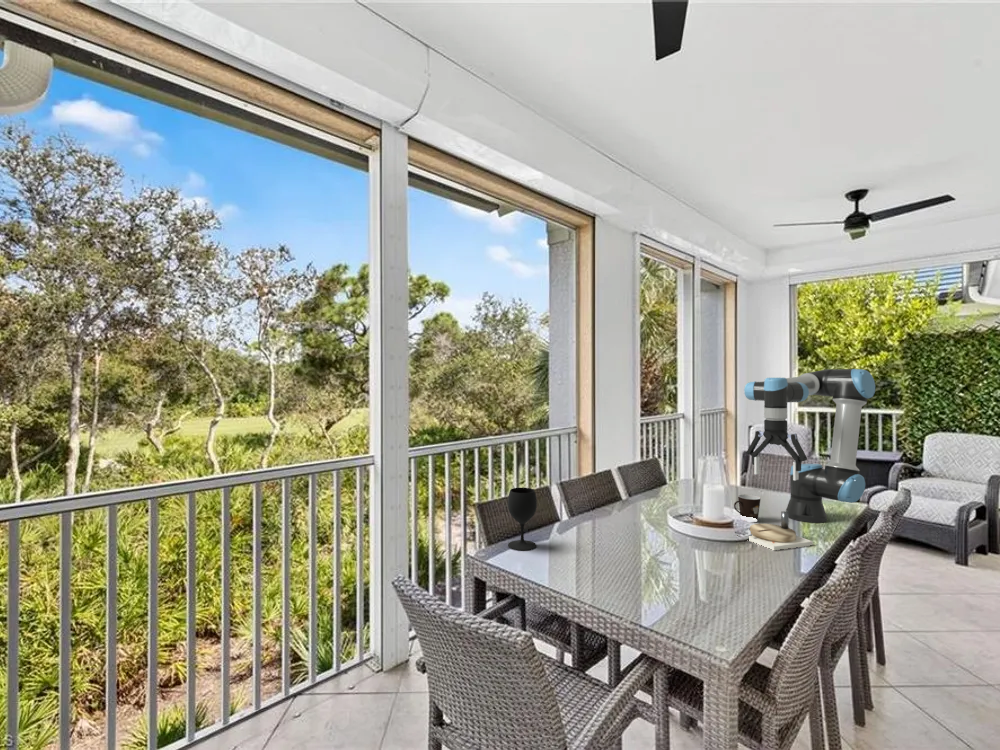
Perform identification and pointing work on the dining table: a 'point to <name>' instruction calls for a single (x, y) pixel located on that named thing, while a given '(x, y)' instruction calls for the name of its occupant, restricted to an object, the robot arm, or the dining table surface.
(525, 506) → the wine glass
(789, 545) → the base plate
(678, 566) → the dining table surface
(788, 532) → the dial
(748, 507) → the coffee mug
